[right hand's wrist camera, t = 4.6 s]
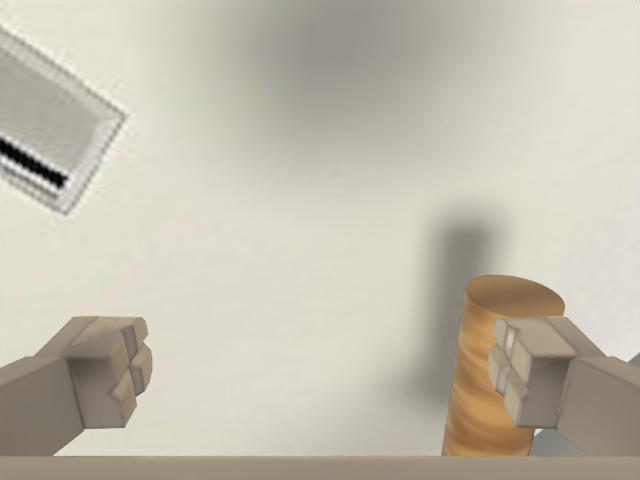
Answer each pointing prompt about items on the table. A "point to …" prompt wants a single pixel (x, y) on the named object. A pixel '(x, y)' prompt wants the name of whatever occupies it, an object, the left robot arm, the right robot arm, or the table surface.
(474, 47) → the table surface
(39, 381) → the right robot arm
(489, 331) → the rod
